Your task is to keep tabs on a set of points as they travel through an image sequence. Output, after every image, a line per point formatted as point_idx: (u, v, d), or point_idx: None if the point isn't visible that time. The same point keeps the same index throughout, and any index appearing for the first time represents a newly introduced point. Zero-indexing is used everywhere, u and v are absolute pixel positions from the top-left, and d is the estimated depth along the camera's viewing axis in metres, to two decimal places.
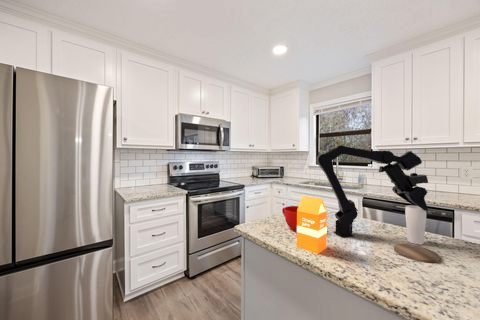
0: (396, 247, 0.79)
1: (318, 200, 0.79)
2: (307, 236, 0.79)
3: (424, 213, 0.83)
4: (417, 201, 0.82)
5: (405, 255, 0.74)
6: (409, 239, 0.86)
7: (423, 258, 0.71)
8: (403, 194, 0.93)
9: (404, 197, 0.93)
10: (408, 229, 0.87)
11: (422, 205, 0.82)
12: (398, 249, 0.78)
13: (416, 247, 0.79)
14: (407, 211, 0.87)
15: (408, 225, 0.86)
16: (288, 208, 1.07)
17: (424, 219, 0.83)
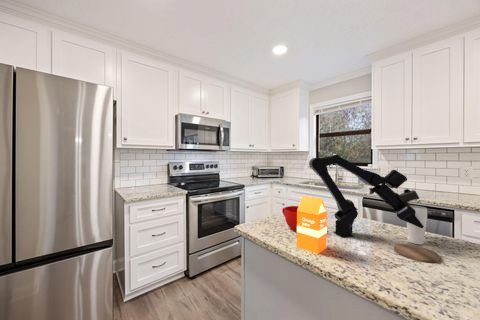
0: (396, 247, 0.79)
1: (318, 200, 0.79)
2: (307, 236, 0.79)
3: (425, 213, 0.83)
4: (409, 220, 0.83)
5: (405, 255, 0.74)
6: (409, 239, 0.86)
7: (423, 258, 0.71)
8: None
9: None
10: (408, 229, 0.87)
11: (416, 223, 0.82)
12: (398, 249, 0.78)
13: (416, 247, 0.79)
14: None
15: (409, 225, 0.86)
16: (288, 208, 1.07)
17: (425, 219, 0.83)
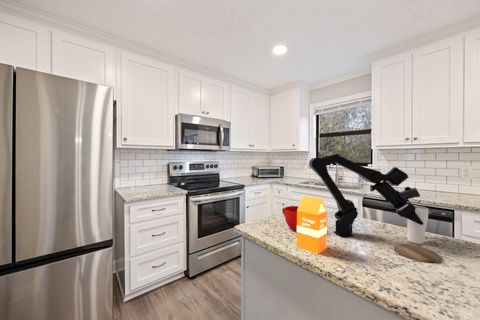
0: (396, 247, 0.79)
1: (318, 200, 0.79)
2: (307, 236, 0.79)
3: (426, 213, 0.83)
4: (409, 216, 0.84)
5: (405, 255, 0.74)
6: (409, 238, 0.87)
7: (423, 258, 0.71)
8: None
9: None
10: (409, 228, 0.87)
11: (416, 220, 0.83)
12: (398, 249, 0.78)
13: (416, 247, 0.79)
14: None
15: (409, 225, 0.86)
16: (288, 208, 1.07)
17: (426, 219, 0.83)
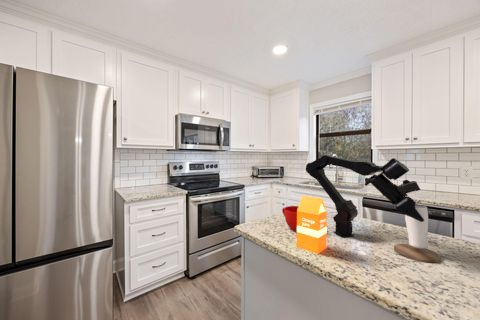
0: (396, 247, 0.79)
1: (318, 200, 0.79)
2: (307, 236, 0.79)
3: (426, 212, 0.75)
4: (409, 212, 0.75)
5: (405, 255, 0.74)
6: (411, 243, 0.77)
7: (423, 258, 0.71)
8: None
9: None
10: (409, 231, 0.77)
11: (415, 216, 0.74)
12: (398, 249, 0.78)
13: None
14: None
15: (409, 227, 0.77)
16: (288, 208, 1.07)
17: (426, 219, 0.75)
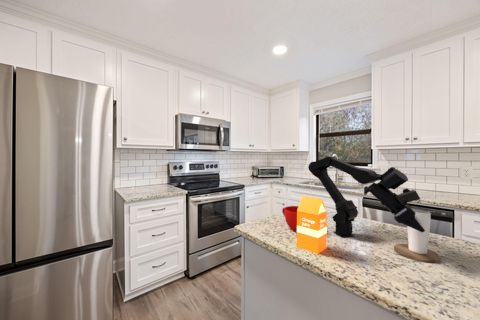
0: (396, 247, 0.79)
1: (318, 200, 0.79)
2: (307, 236, 0.79)
3: (429, 218, 0.73)
4: (409, 222, 0.73)
5: (405, 255, 0.74)
6: (411, 248, 0.75)
7: (423, 258, 0.71)
8: None
9: None
10: (410, 236, 0.76)
11: (416, 226, 0.73)
12: (398, 249, 0.78)
13: None
14: None
15: (410, 232, 0.75)
16: (288, 208, 1.07)
17: (428, 225, 0.73)
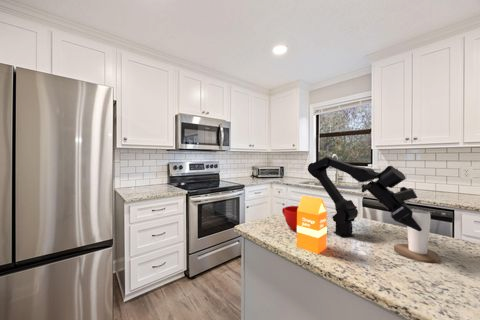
0: (396, 247, 0.79)
1: (318, 200, 0.79)
2: (307, 236, 0.79)
3: (428, 218, 0.72)
4: (406, 221, 0.73)
5: (405, 255, 0.74)
6: (411, 248, 0.75)
7: (423, 258, 0.71)
8: None
9: None
10: (410, 237, 0.76)
11: (413, 225, 0.73)
12: (398, 249, 0.78)
13: None
14: None
15: (410, 232, 0.75)
16: (288, 208, 1.07)
17: (428, 225, 0.72)
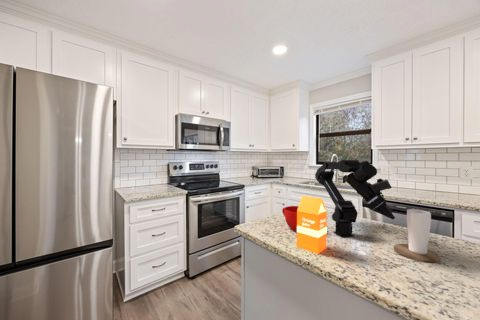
0: (396, 247, 0.79)
1: (318, 200, 0.79)
2: (307, 236, 0.79)
3: (429, 219, 0.72)
4: (380, 210, 0.77)
5: (405, 255, 0.74)
6: (411, 248, 0.75)
7: (423, 258, 0.71)
8: None
9: None
10: (410, 237, 0.76)
11: (387, 214, 0.77)
12: (398, 249, 0.78)
13: None
14: (409, 216, 0.75)
15: (410, 232, 0.75)
16: (288, 208, 1.07)
17: (429, 225, 0.72)
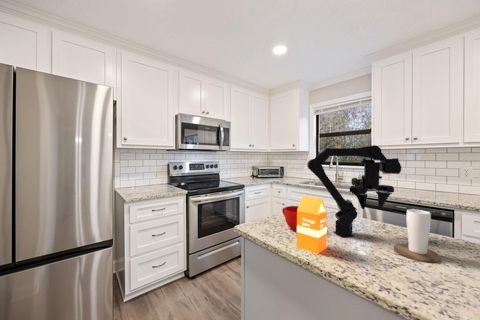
0: (396, 247, 0.79)
1: (318, 200, 0.79)
2: (307, 236, 0.79)
3: (429, 219, 0.72)
4: None
5: (405, 255, 0.74)
6: (411, 248, 0.75)
7: (423, 258, 0.71)
8: None
9: None
10: (410, 237, 0.76)
11: None
12: (398, 249, 0.78)
13: None
14: (409, 216, 0.75)
15: (410, 232, 0.75)
16: (288, 208, 1.07)
17: (429, 225, 0.72)
